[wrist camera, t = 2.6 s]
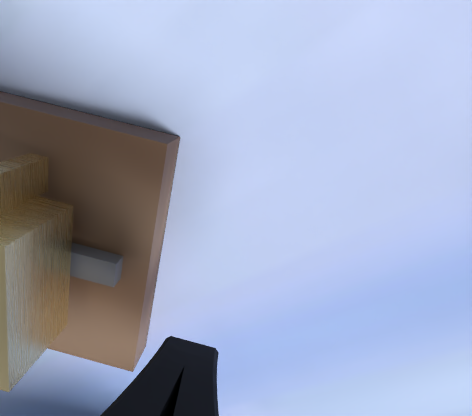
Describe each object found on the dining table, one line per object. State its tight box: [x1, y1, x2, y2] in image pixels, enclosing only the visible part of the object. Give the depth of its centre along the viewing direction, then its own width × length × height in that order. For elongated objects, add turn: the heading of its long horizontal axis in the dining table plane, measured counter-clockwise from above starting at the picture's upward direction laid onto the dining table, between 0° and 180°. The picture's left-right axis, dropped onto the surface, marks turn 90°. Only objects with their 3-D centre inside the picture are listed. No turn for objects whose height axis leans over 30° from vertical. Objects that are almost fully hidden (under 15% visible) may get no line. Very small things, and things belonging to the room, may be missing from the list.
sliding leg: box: [0, 153, 74, 392], centre depth 11 cm, size 6×3×4 cm, turn 167°
